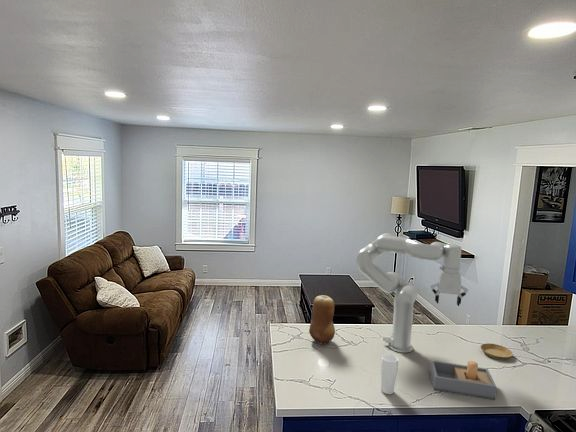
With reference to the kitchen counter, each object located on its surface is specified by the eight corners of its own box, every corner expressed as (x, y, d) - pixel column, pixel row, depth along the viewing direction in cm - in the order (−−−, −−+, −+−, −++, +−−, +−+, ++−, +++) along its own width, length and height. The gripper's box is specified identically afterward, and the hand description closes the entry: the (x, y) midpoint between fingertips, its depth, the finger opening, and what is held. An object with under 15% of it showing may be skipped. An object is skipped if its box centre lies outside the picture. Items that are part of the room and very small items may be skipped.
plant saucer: (518, 361, 200) (519, 356, 199) (492, 362, 197) (493, 357, 196) (498, 347, 214) (499, 342, 214) (473, 348, 211) (474, 344, 211)
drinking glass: (377, 386, 171) (379, 354, 169) (392, 386, 171) (395, 354, 169) (382, 396, 164) (384, 362, 162) (397, 396, 165) (400, 362, 163)
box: (433, 390, 170) (435, 377, 169) (430, 372, 185) (431, 360, 184) (494, 400, 165) (496, 386, 164) (486, 381, 179) (487, 368, 178)
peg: (466, 386, 172) (468, 364, 171) (464, 381, 176) (467, 360, 175) (476, 388, 171) (478, 366, 170) (474, 383, 175) (476, 361, 174)
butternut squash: (338, 341, 213) (341, 296, 210) (327, 350, 202) (329, 303, 198) (315, 334, 220) (318, 290, 217) (303, 342, 209) (305, 297, 206)
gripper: (433, 270, 191) (429, 304, 194) (471, 274, 187) (467, 308, 190) (431, 266, 198) (428, 299, 201) (468, 269, 194) (464, 303, 197)
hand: (447, 303), depth 195 cm, fingers open, 9 cm apart
